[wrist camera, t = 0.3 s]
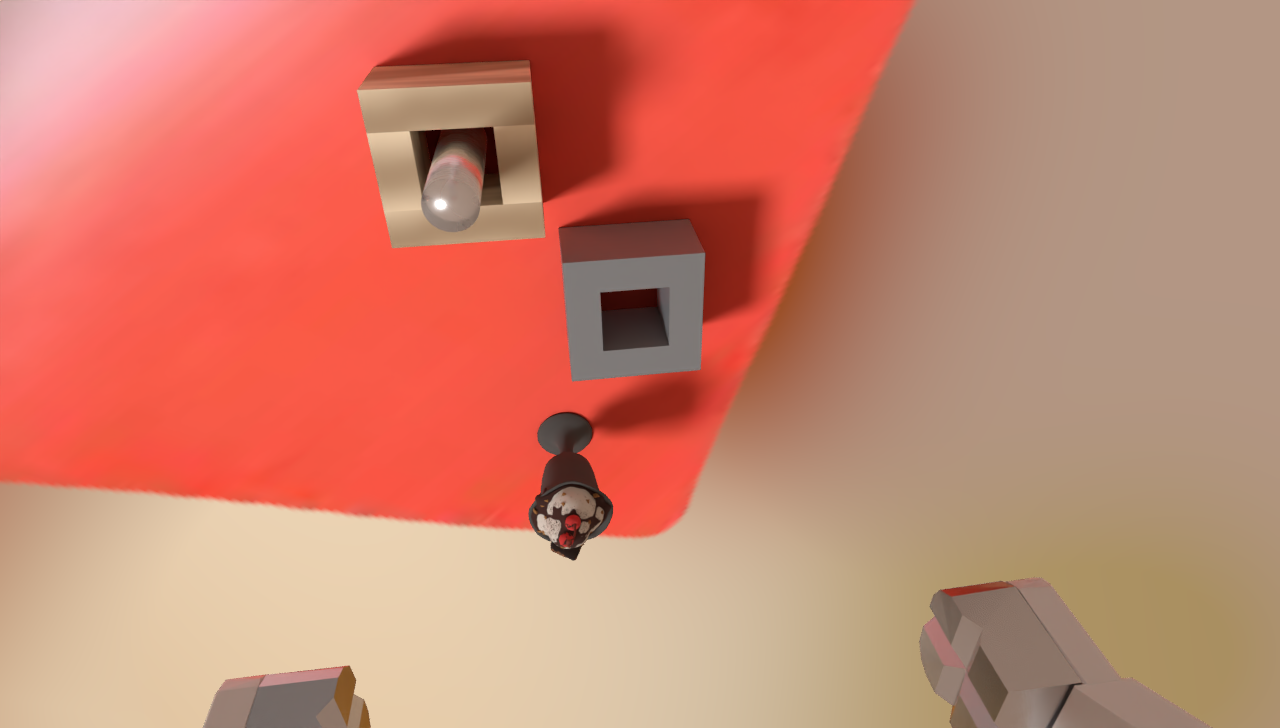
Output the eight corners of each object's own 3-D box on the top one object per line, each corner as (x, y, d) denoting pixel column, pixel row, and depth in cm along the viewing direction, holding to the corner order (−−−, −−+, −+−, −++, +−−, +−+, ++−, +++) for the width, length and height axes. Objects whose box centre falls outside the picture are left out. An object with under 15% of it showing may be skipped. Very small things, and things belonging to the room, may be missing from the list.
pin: (436, 117, 50) (416, 179, 40) (484, 114, 50) (475, 176, 40) (444, 163, 52) (426, 234, 42) (490, 160, 52) (483, 230, 42)
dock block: (558, 227, 55) (562, 263, 50) (688, 218, 56) (705, 252, 51) (567, 339, 61) (571, 381, 56) (686, 329, 62) (700, 369, 57)
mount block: (373, 66, 47) (357, 90, 43) (529, 59, 48) (530, 81, 44) (404, 212, 53) (392, 247, 48) (542, 203, 54) (545, 237, 49)
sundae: (562, 391, 64) (572, 517, 52) (616, 430, 67) (637, 557, 55) (511, 436, 66) (510, 567, 54) (566, 472, 69) (576, 603, 57)
